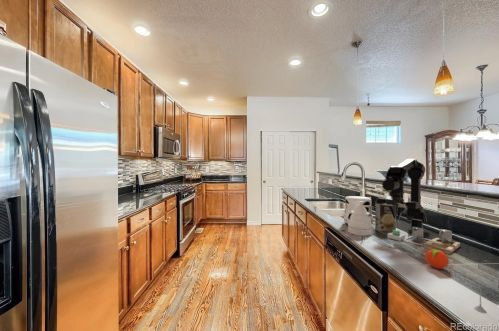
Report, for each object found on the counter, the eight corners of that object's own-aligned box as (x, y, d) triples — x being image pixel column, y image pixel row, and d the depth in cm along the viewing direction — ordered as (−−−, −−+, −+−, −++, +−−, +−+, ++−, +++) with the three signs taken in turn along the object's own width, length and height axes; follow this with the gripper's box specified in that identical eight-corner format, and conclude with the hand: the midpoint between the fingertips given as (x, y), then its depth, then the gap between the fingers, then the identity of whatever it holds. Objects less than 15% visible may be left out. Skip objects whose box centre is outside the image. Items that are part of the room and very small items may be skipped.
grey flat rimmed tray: (412, 238, 123) (412, 235, 123) (432, 242, 116) (432, 240, 116) (402, 242, 116) (402, 239, 116) (423, 248, 108) (423, 245, 108)
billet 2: (440, 242, 113) (440, 228, 113) (452, 245, 110) (453, 231, 110) (437, 244, 111) (437, 230, 111) (449, 247, 107) (450, 232, 107)
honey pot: (352, 227, 142) (353, 199, 141) (375, 232, 132) (375, 201, 132) (344, 232, 133) (344, 201, 132) (367, 237, 123) (368, 204, 123)
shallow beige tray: (435, 242, 116) (436, 237, 116) (459, 248, 109) (460, 242, 109) (423, 249, 106) (423, 244, 106) (449, 256, 99) (449, 250, 99)
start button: (394, 234, 122) (394, 229, 122) (400, 235, 119) (400, 230, 119) (391, 235, 120) (391, 230, 120) (398, 236, 117) (398, 231, 117)
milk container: (340, 221, 157) (340, 195, 157) (366, 222, 156) (366, 196, 156) (348, 228, 140) (348, 199, 140) (377, 229, 138) (378, 200, 138)
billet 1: (413, 239, 119) (414, 226, 119) (424, 242, 115) (424, 228, 115) (410, 241, 116) (410, 227, 116) (421, 244, 112) (421, 229, 112)
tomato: (444, 274, 82) (444, 255, 82) (421, 267, 88) (421, 249, 88) (450, 268, 87) (451, 250, 87) (428, 262, 93) (428, 244, 93)
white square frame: (392, 237, 124) (392, 231, 124) (404, 240, 119) (405, 234, 119) (387, 239, 120) (387, 233, 120) (400, 242, 115) (400, 236, 115)
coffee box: (379, 232, 133) (380, 204, 133) (374, 228, 140) (375, 203, 140) (396, 232, 132) (396, 205, 132) (390, 229, 139) (391, 203, 139)
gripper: (371, 188, 122) (370, 217, 122) (411, 192, 107) (410, 225, 107) (381, 187, 129) (380, 215, 129) (420, 191, 114) (419, 222, 114)
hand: (396, 219), depth 119 cm, fingers closed
